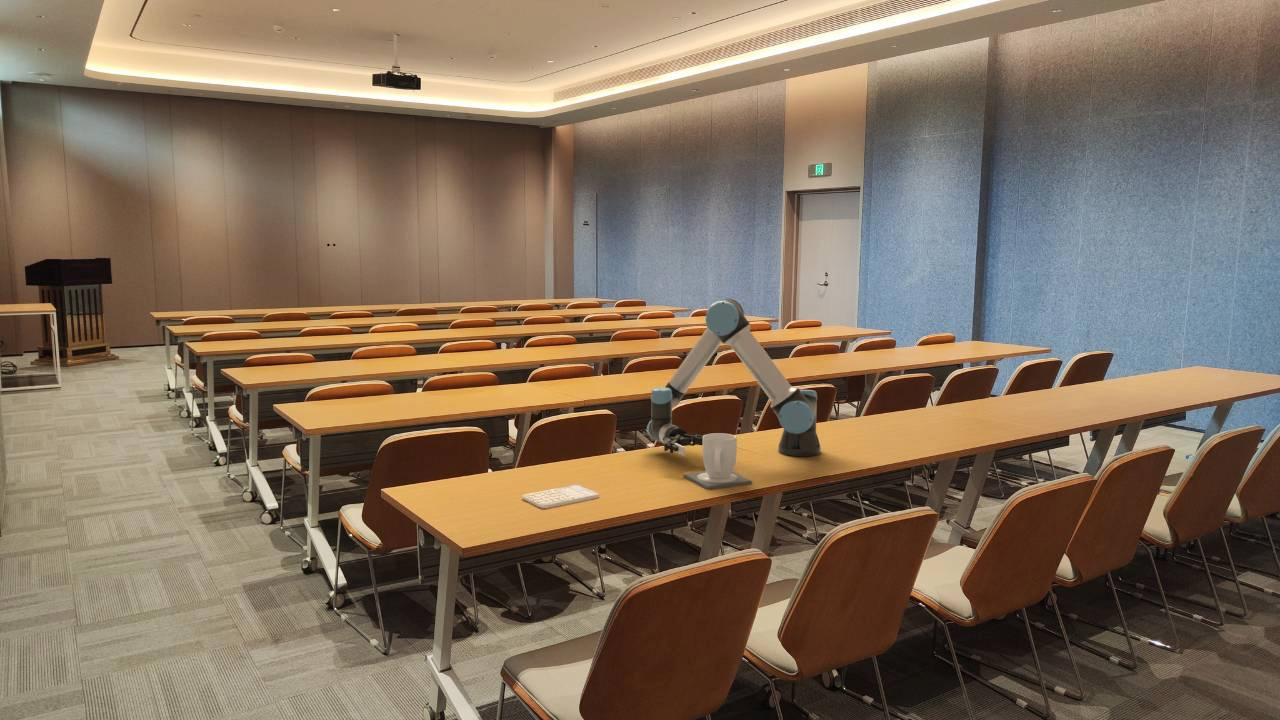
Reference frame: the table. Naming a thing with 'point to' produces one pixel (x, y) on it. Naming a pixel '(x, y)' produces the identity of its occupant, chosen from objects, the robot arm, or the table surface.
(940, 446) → the table surface
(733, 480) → the kitchen scale
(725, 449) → the mug
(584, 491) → the calculator
